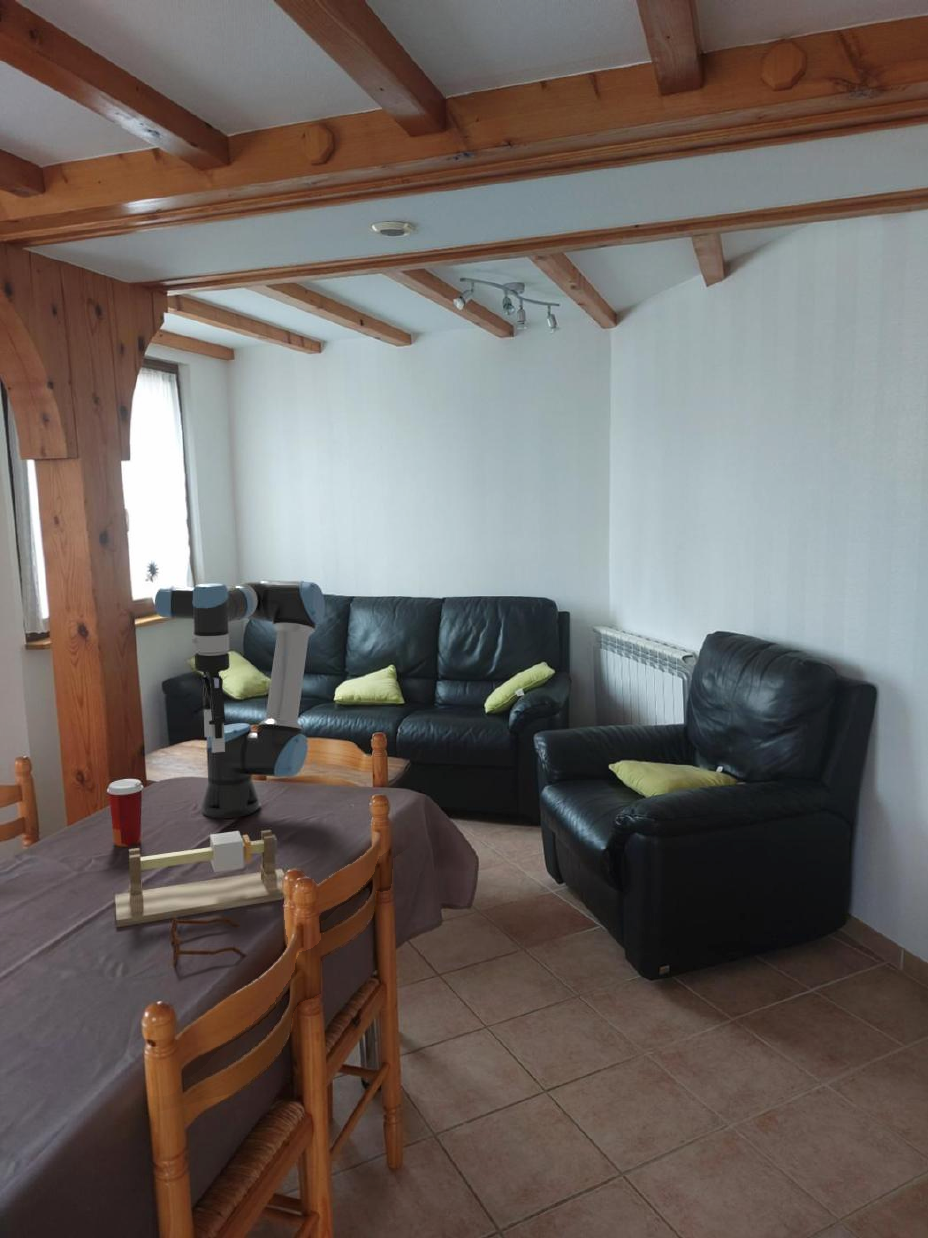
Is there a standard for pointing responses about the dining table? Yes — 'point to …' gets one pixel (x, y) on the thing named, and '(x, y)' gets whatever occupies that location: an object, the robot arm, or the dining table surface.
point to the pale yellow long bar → (199, 855)
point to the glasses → (177, 944)
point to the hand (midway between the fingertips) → (214, 743)
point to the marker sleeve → (227, 851)
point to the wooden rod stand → (198, 891)
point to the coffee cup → (126, 811)
